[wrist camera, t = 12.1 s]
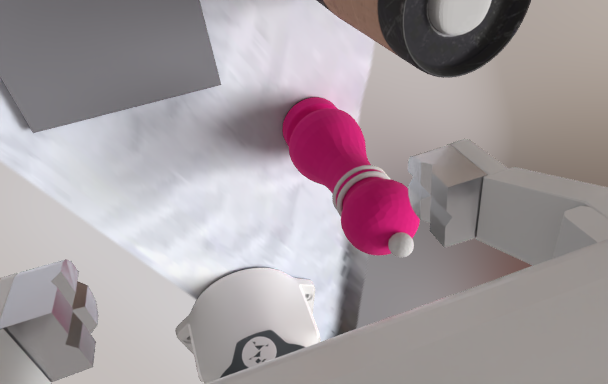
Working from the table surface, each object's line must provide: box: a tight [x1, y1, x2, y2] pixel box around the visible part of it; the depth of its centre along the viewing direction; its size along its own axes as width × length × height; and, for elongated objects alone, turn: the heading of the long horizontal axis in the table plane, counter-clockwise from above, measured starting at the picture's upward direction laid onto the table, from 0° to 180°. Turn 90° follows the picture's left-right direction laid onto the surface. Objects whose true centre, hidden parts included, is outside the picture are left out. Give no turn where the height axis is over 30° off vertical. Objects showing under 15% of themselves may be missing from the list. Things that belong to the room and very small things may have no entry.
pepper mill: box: [282, 97, 420, 257], centre depth 38 cm, size 7×7×20 cm
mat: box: [0, 0, 221, 133], centre depth 33 cm, size 16×16×1 cm
